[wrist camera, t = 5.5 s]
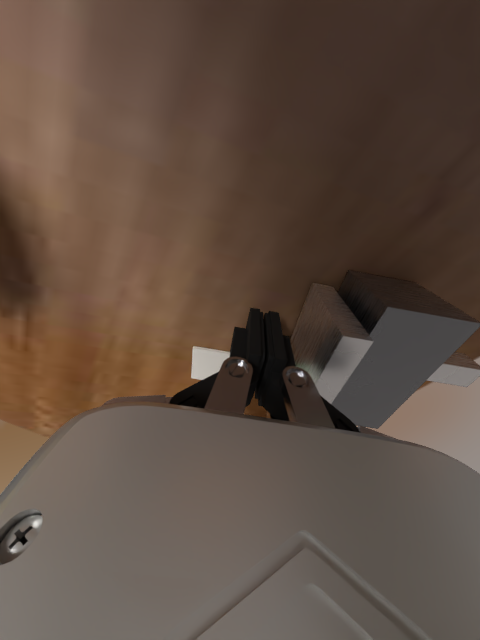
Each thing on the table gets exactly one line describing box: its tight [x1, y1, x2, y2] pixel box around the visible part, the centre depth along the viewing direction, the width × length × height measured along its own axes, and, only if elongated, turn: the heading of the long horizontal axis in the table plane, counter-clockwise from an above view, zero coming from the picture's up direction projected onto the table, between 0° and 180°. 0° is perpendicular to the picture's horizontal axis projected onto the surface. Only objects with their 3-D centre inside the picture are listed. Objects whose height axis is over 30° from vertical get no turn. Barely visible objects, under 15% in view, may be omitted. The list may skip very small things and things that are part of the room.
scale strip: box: [191, 346, 230, 380], centre depth 17 cm, size 3×10×1 cm, turn 81°
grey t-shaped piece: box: [290, 283, 480, 404], centre depth 13 cm, size 9×10×5 cm
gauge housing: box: [331, 270, 480, 429], centre depth 12 cm, size 8×4×4 cm, turn 171°
